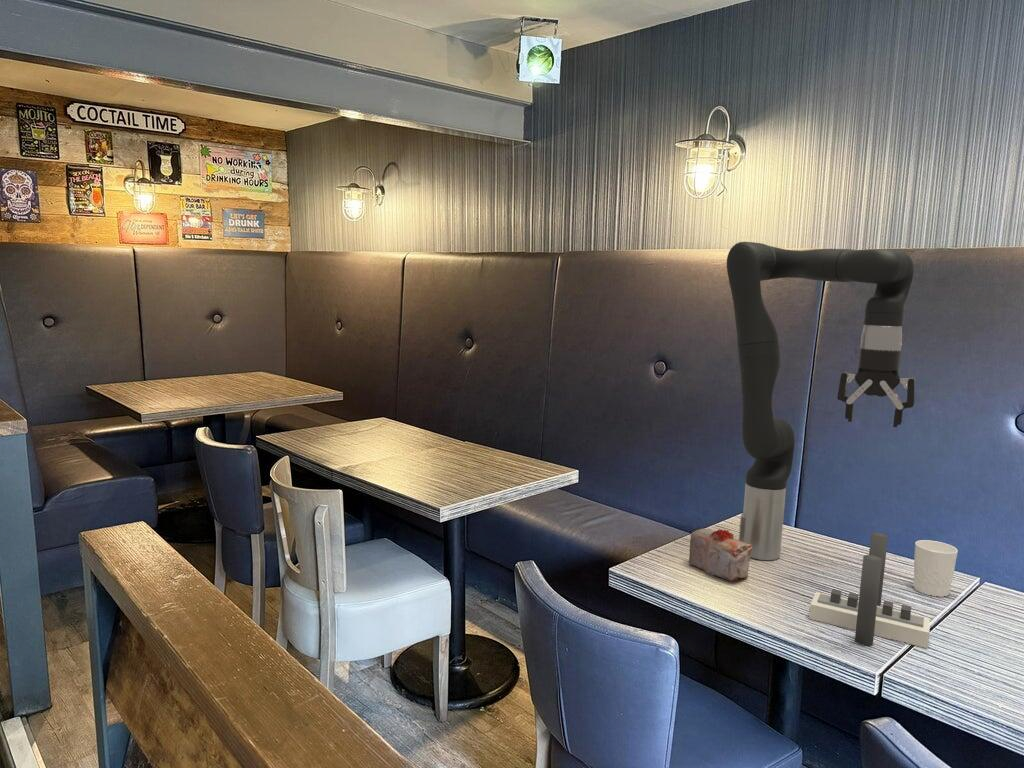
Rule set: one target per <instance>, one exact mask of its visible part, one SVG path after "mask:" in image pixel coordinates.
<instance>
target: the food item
mask: <svg viewBox="0 0 1024 768" xmlns="http://www.w3.org/2000/svg"><path fill="white" fill-rule="evenodd" d="M689 540H690V541H689V555H688V556H689V557H688V564H689V566H693V567H696V568H698V569H701V570H703V571H705V573H706V574H707V575H708V576H713V577H714V576H717V577H719V578H722V579H724V580H727V581H729V582H730V581H731V582H732V581H738V580H742V579H746V578H748V577H749V567H750V561H751V557H750V555H751V552H752V545H750V544H747V543H744V542H741V541H739V539H735V538H734V533H732V532H730V530H728V529H727V530H726V529H721V528H719V529H717V530H712V529H710V528H700V529H697V530H695V531H692V532H691V533H690V539H689Z"/></svg>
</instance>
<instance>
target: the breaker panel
mask: <svg viewBox="0 0 1024 768" xmlns="http://www.w3.org/2000/svg"><path fill="white" fill-rule="evenodd" d="M842 591H843V590H840V589H837V588H836V589H835V588H832V590H831V593H830V594H827V593H822V592H819V591H816V592H815V594H814V595H813V598H812V601H811V603H810V606H809V616H808V620H813V621H815V622H819V623H820V622H821V623H824V624H828V625H832V626H836V627H839V628H840V627H841V628H845V629H848V630H852V631H856V623H857V613H858V603H859V593H857V594H856V593H854V592H849V593H848V596H847V598H844V597H842ZM930 623H931V618H930V617H926V616H923V615H917V614H915V613H912V606H910V605H905V604H901V608H900V610H896V609H894V602H893V601H890V600H889V601H888V600H885V599H884V600H883V604H882V606H881V607H880V606H877V611H876V620H875V630H874V636H877V637H880V638H883V639H889V640H892V639H893V641H896V640H898V641H897V642H900V641H901V642H900V643H904V642H906V643H905V644H908V643H909V645H912V646H916V647H921V648H923V649H924V648H925V649H928V646H929V639H930V629H931V628H930V626H931V624H930Z"/></svg>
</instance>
